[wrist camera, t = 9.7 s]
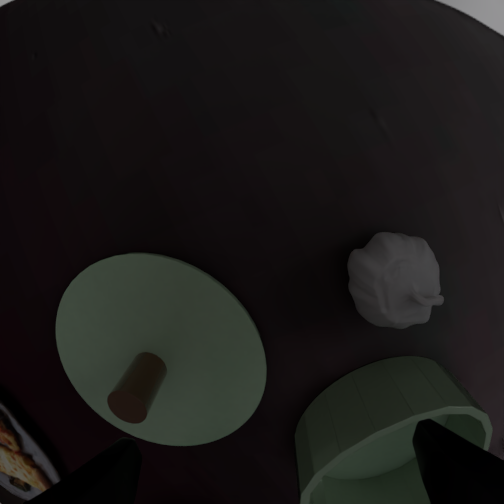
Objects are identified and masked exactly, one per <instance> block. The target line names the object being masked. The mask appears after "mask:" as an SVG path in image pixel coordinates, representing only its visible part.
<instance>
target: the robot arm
mask: <svg viewBox="0 0 504 504" xmlns="http://www.w3.org/2000/svg"><path fill="white" fill-rule="evenodd" d="M412 443H413V447H414V451H415V455H416V459H417V463H418V467H419V471H420V475H421V478H422V481H423V484H424V487H425V489H426V492H427V495H428V497H429V500H430V503H431V504H504V460H502V459H500V458H498V457H496V456H495V455H493V454H491V453H489V452H487V451H486V450H484V449H482V448H480V447H479V446H477V445H475V444H473V443H471V442H470V441H468V440H466V439H464V438H463V437H461V436H459V435H458V434H456V433H454V432H452V431H451V430H449V429H447V428H446V427H444V426H442V425H441V424H439V423H437V422H436V421H434V420H432V419H430V418H428V419H424V420H420V421H419V422H418V423H417V425H416V428H415V432H414V435H413V439H412ZM141 463H142V455H141V452H140V450H139V448H138V446H137V443H136V441H135V440H134V439H132V438H125V437H123V438H120V439H119V440H118V441H116V442H115V443H114V444H112V445H111V446H109V447H108V448H107V449H105V450H104V451H102V452H101V453H100V454H98V455H97V456H95V457H94V458H93V459H91V460H90V461H88V462H87V463H85V464H84V465H83V466H81V467H80V468H78V469H77V470H75V471H74V472H72V473H71V474H69V475H68V476H66V477H65V478H63V479H62V480H60V481H59V482H57V483H56V484H54V485H53V486H51V487H50V488H48V489H47V490H45V491H43V492H42V493H40V494H39V495H37V496H35V497H34V498H32V499H30V500H28V501H26V502H24V503H22V504H133V503H134V500H135V496H136V491H137V485H138V480H139V474H140V468H141Z"/></svg>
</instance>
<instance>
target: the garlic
mask: <svg viewBox="0 0 504 504" xmlns="http://www.w3.org/2000/svg"><path fill="white" fill-rule="evenodd" d="M347 267H348V273H349V277H350V281H349V285H348V288H349V292H350V293H351V295H352V297H353V300H354V302H355V306H356V309H357V311H358V312H359V314H360V315H361V316H363V317H364V318H365V319H366V320H367V321H368V322H370V323H373V324H374V325H376V326H380V327H393V328H397V329H403V328H407V327H409V326H410V325H413V324H422V323H425V322H427V321H428V319H429V317H430V313H431V307H432V305H442V304H443V301H444V298H443V296H441V295H439V293H440V283H439V265H438V263H437V261H436V259H435V256H434V253H433V251H432V250H431V249H430V248H429V246H428V244H427V242H426V241H425V240H424V239H422V238H419V237H408V236H407V235H405V234H402V233H394V234H393V233H389V232H381V233H377V234H375V235H374V236H373V238H372V239H371V240H370V241H369V243H368V244H367V245H366V246H365V247H364V248H363V249H355V250H353V251H352V252H351V254H350V256H349V260H348V263H347Z"/></svg>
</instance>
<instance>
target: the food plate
mask: <svg viewBox="0 0 504 504" xmlns="http://www.w3.org/2000/svg"><path fill="white" fill-rule="evenodd" d="M60 480H62V479H61V477H60V476H59V473H58V472H57V470H56V469H55V467H54V464H53V462H52V460H51V458H50V457H49V456H48V455H47V454H46V452H45V451H44V450H43V449H42V447H41V446H40V444H39V443H37V441H36V440H35V439H34V438H33V437H32V436H31V435H30V434H29V432H27V430H26V429H24V427H23V426H22V425H21V424H20V423H19V421H18V420H17V418H16V417H15V415H14V414H13V412H12V410H10V409H9V408H8V407H7V406H5V405H4V403H3V401H1V400H0V485H2V486H3V487H5V488H6V490H7V489H8V490H7V491H9V490H10V491H9V492H11V493H12V492H13V493H12V494H14V493H15V494H14V495H16V494H17V495H16V496H18V497H20V498H23V499H26V500H30V499H32V498H34V497H35V496H37V495H39V494H40V493H42V492H43V491H45V490H47V489H48V488H50V487H51V486H53V485H54V484H56V483H57V482H59V481H60Z"/></svg>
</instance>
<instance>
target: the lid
mask: <svg viewBox="0 0 504 504" xmlns="http://www.w3.org/2000/svg"><path fill="white" fill-rule="evenodd" d="M56 341H57V348H58V352H59V355H60V359H61V362H62V364H63V367H64V369H65V372H66V373H67V375H68V377H69V379H70V381H71V383H72V384H73V386H74V387H75V389H76V390H77V392H78V393H79V394H80V396H81V397H82V398H83V399H84V400H85V402H86V403H87V404H88V405H89V406H90V407H91V408H92V409H93V410H94V411H95V412H97V413H98V414H99V415H100V416H101V417H103V418H104V419H105V420H107V421H108V422H110V423H111V424H112V425H114V426H116V427H117V428H119V429H121V430H123V431H124V432H126V433H129V434H131V435H133V436H135V437H138V438H141V439H144V440H147V441H150V442H154V443H159V444H165V445H172V446H190V445H199V444H204V443H209V442H212V441H215V440H218V439H220V438H223V437H225V436H227V435H229V434H231V433H232V432H234V431H235V430H237V429H238V428H239V427H241V426H242V425H243V424H244V423H245V422H246V421H247V420H248V419H249V418H250V417H251V415H252V414H253V413H254V411H255V410H256V408H257V406H258V405H259V403H260V401H261V398H262V395H263V393H264V389H265V384H266V373H267V363H266V355H265V349H264V346H263V342H262V339H261V336H260V334H259V332H258V329H257V327H256V325H255V323H254V321H253V320H252V318H251V317H250V315H249V313H248V312H247V310H246V309H245V308H244V306H243V305H242V304H241V303H240V302H239V300H238V299H237V298H236V297H235V296H234V295H233V294H232V293H231V292H230V291H229V290H228V289H227V288H226V287H225V286H224V285H222V284H221V283H220V282H218V281H217V280H216V279H214V278H213V277H212V276H210V275H209V274H207V273H205V272H203V271H202V270H200V269H198V268H197V267H195V266H193V265H190V264H188V263H185V262H183V261H181V260H178V259H175V258H171V257H168V256H164V255H159V254H152V253H125V254H118V255H114V256H111V257H108V258H105V259H102V260H100V261H98V262H96V263H94V264H92V265H90V266H89V267H88V268H86V269H85V270H83V271H82V272H81V273H80V274H79V275H78V276H77V277H76V278H75V279H74V280H73V281H72V282H71V283H70V285H69V286H68V288H67V289H66V291H65V293H64V295H63V297H62V299H61V301H60V305H59V308H58V312H57V318H56Z"/></svg>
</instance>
